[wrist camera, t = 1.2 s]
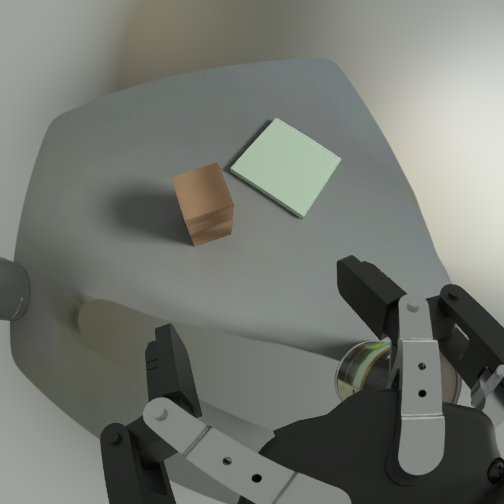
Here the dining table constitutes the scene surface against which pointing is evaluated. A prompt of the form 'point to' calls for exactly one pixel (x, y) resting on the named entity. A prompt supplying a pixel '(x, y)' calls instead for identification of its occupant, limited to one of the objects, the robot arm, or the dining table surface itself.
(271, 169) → the rubber mat
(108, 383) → the dining table surface
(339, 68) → the dining table surface
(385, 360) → the coffee can
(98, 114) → the dining table surface
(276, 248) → the dining table surface
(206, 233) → the walnut block
